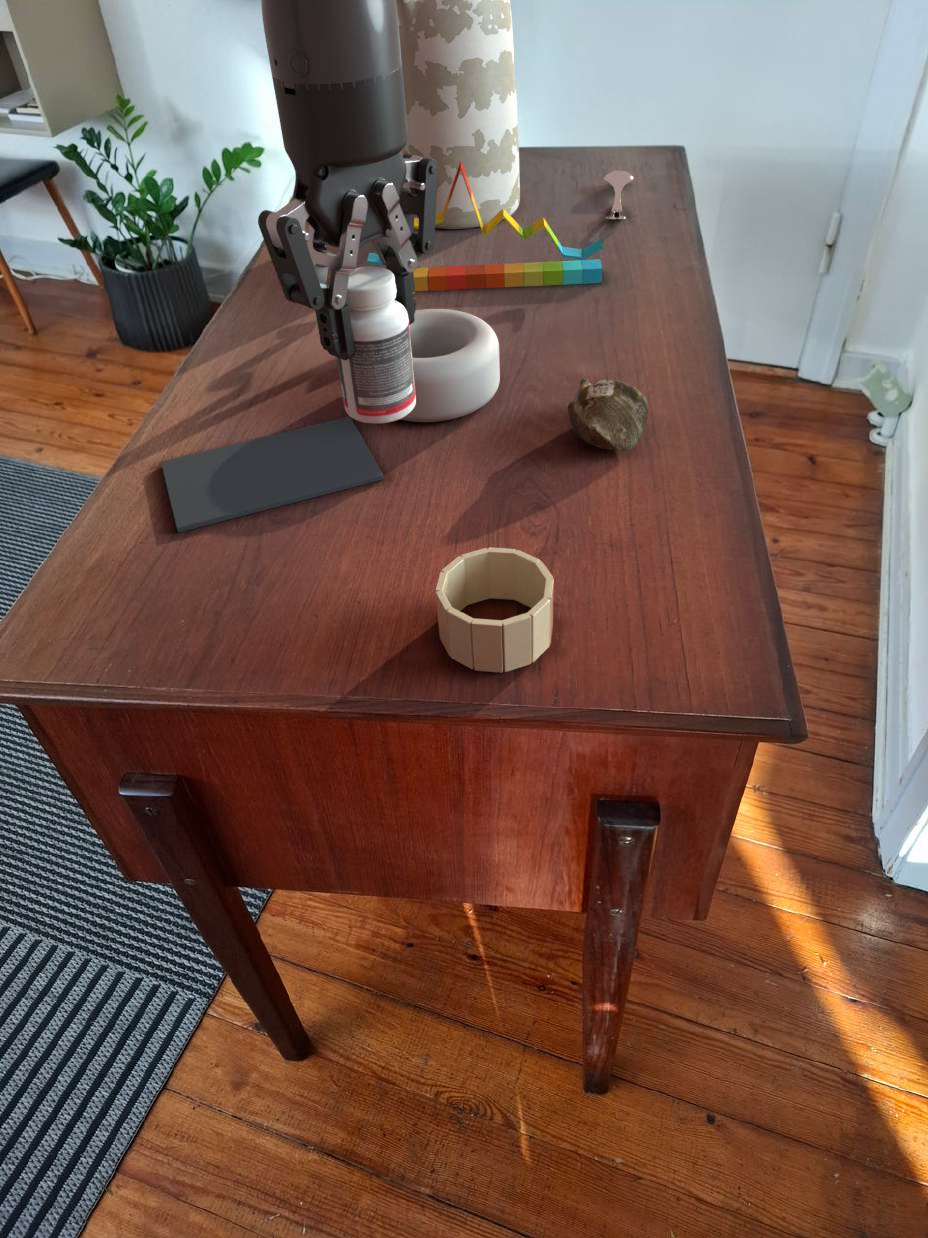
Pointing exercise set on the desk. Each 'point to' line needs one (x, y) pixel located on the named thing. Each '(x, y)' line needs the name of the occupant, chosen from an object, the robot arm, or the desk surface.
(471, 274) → the chart
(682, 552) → the desk surface
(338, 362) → the pill bottle
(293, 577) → the desk surface
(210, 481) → the mat
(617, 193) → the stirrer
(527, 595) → the bracelet
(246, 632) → the desk surface
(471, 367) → the fat ring
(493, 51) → the vase
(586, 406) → the fossilized seashell
